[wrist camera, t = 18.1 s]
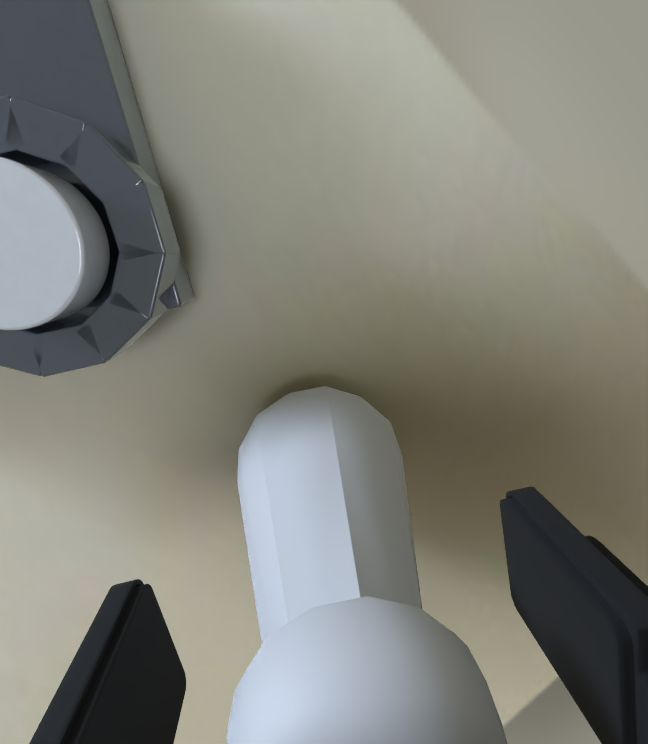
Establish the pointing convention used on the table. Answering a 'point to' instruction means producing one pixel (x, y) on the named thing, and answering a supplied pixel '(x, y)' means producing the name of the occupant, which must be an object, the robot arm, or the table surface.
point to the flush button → (46, 248)
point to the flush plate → (87, 175)
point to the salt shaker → (343, 591)
